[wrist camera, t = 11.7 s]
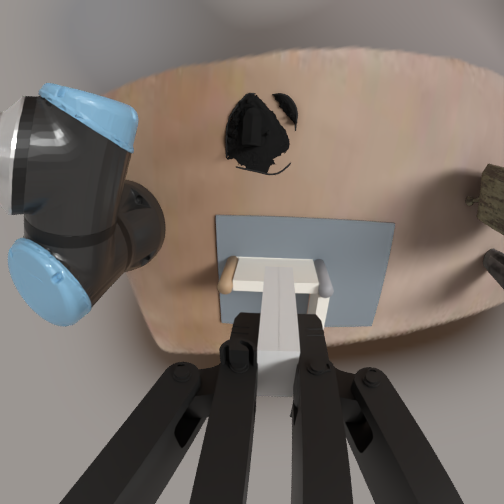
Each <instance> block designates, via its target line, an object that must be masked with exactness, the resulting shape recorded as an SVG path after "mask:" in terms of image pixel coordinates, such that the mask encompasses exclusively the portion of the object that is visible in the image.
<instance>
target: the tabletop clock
mask: <svg viewBox="0 0 504 504" xmlns="http://www.w3.org/2000/svg"><path fill="white" fill-rule="evenodd" d="M473 202H479V206H478V212H477V218H478V219H479V220H480V221H482V222H483V223H485V224H486V225H488V226H489V227H491V228H492V229H494V230H496V231H497V232H499V233H501V234H502V235H504V167H500V166H496V165H492V164H488V165H487V166H486V168H485V169H484V171H483V172H482V178H481V189H480V197H479V198H475V199H473V198H472V197H470V196H469V197H467V198H466V204H467V205H469V206H471V205H473Z"/></svg>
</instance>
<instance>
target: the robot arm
mask: <svg viewBox="0 0 504 504" xmlns="http://www.w3.org/2000/svg"><path fill="white" fill-rule="evenodd" d="M39 95H40V96H38V97H32V96H23V97H21V98H20V99H19V100H18V101H17V102H16V103H14V104H13V105H12V106H11V107H10V108H9V109H7V110H6V111H4V112H0V206H1V207H2V208H3V209H4V210H5V211H6V213H7V214H8V215H17V214H24V236H23V238H20V239H18V240H16V241H15V243H14V244H13V246H12V247H11V248H10V250H9V253H8V267H9V271H10V274H11V277H12V280H13V282H14V284H15V286H16V288H17V290H18V292H19V293H20V295H21V296H22V298H23V299H24V300H25V302H26V303H27V304H28V305H29V306H30V308H32V310H33V311H35V312H36V313H37V314H38V315H39V316H41V317H42V318H43V319H45V320H46V321H48V322H50V323H52V324H55V325H58V326H69V325H73V324H75V323H77V322H78V321H79V320H80V319H81V318H82V317H84V316H85V315H86V314H88V313H89V312H90V310H91V308H92V307H93V305H94V304H95V303H96V302H97V301H98V300H99V299H100V298H101V296H102V295H103V294H104V293H105V292H106V291H107V290H108V289H109V288H110V287H111V286H112V284H114V282H115V281H116V280H117V279H118V278H119V277H120V276H121V275H122V274H123V273H124V272H127V271H130V270H133V269H137V268H140V267H142V266H144V265H145V264H147V263H148V262H150V261H151V260H152V259H153V257H154V256H155V255H156V254H157V253H158V252H159V250H160V249H161V247H162V244H163V241H164V238H165V220H164V215H163V212H162V209H161V207H160V205H159V203H158V201H157V200H156V198H155V197H154V196H153V195H152V194H151V192H149V191H148V190H147V189H146V188H145V187H143V186H142V185H140V184H138V183H136V182H133V181H129V180H125V178H126V174H127V169H128V165H129V161H130V158H131V154H132V153H133V152H134V148H133V143H134V139H135V135H136V130H137V126H138V115H137V112H136V111H135V110H134V108H132V107H131V106H129V105H127V104H124V103H121V102H118V101H115V100H112V99H109V98H106V97H103V96H99V95H96V94H92V93H89V92H85V91H81V90H77V89H73V88H69V87H65V86H60V85H57V84H51V83H46V84H44V85H43V86H42V88H41V89H40V90H39ZM219 351H220V361H221V363H220V364H219V365H217V366H215V367H212V368H206V369H198V368H197V367H196V366H195V365H193V364H191V363H187V362H178V363H175V364H173V365H171V366H169V367H168V368H167V369H166V370H165V372H164V373H163V374H162V375H161V377H160V378H159V379H158V381H157V382H156V383H155V384H154V386H153V387H152V388H151V390H150V391H149V392H148V393H147V394H146V396H145V397H144V398H143V400H142V401H141V402H140V403H139V405H138V406H137V407H136V408H135V410H134V411H133V412H132V413H131V415H130V416H129V417H128V419H127V420H126V421H125V422H124V424H123V425H122V426H121V427H120V428H119V430H118V431H117V432H116V433H115V435H114V436H113V437H112V438H111V440H110V441H109V442H108V444H107V445H106V446H105V447H104V449H103V450H102V451H101V452H100V454H99V455H98V456H97V457H96V459H95V460H94V461H93V462H92V464H91V465H90V466H89V467H88V469H87V470H86V471H85V472H84V474H83V475H82V476H81V477H80V478H79V480H78V481H77V482H76V484H75V485H74V486H73V487H72V488H71V490H70V491H69V492H68V494H67V495H66V496H65V497H64V498H63V500H62V501H61V502H60V503H59V504H155V503H156V501H157V499H158V498H159V496H160V495H161V493H162V492H163V490H164V488H165V487H166V485H167V484H168V482H169V480H170V479H171V477H172V476H173V474H174V472H175V471H176V469H177V467H178V466H179V464H180V462H181V461H182V459H183V457H184V455H185V454H186V452H187V450H188V449H189V447H190V446H191V444H192V442H193V441H194V439H195V437H196V435H197V434H198V432H199V430H200V429H201V427H202V425H203V423H204V422H205V420H206V418H207V417H209V419H208V424H207V427H206V432H205V436H204V441H203V445H202V450H201V454H200V459H199V463H198V467H197V472H196V476H195V481H194V485H193V490H192V494H191V499H190V504H246V500H247V491H248V482H249V472H250V462H251V452H252V443H253V433H254V422H255V412H256V396H275V397H276V396H277V397H292V396H293V405H292V410H291V415H290V417H292V487H291V488H292V490H291V504H353V497H352V487H351V476H350V468H349V459H348V452H347V451H348V450H347V443H346V438H347V440H348V443H349V445H350V447H351V449H352V451H353V454H354V456H355V458H356V461H357V463H358V465H359V468H360V470H361V472H362V474H363V477H364V479H365V481H366V484H367V486H368V488H369V490H370V492H371V495H372V497H373V500H374V502H375V504H464V503H463V501H462V499H461V498H460V496H459V494H458V492H457V490H456V489H455V487H454V485H453V483H452V481H451V479H450V478H449V476H448V474H447V472H446V471H445V469H444V467H443V466H442V464H441V462H440V460H439V459H438V457H437V455H436V454H435V452H434V450H433V449H432V447H431V445H430V444H429V442H428V440H427V439H426V437H425V436H424V434H423V432H422V431H421V429H420V427H419V426H418V424H417V423H416V421H415V419H414V418H413V416H412V415H411V413H410V412H409V410H408V408H407V407H406V405H405V404H404V402H403V401H402V399H401V398H400V396H399V394H398V393H397V391H396V390H395V388H394V387H393V385H392V384H391V382H390V381H389V379H388V378H387V376H386V375H385V374H384V373H383V372H382V371H380V370H379V369H376V368H371V367H367V368H363V369H360V370H359V371H358V372H357V373H356V374H352V373H347V372H344V371H340V370H338V369H337V368H335V367H334V366H333V364H332V363H331V362H330V361H329V358H328V352H327V347H326V342H325V336H324V331H323V326H322V321H321V320H320V319H319V317H318V316H317V315H316V314H297V308H296V297H295V287H294V277H293V268H292V267H270V266H265V273H264V284H263V295H262V306H261V313H247V312H240V313H239V314H238V315H237V316H236V317H235V318H234V323H233V327H232V332H231V336H230V340H227V341H226V342H224V343H223V344H222V345H221V347H220V349H219Z"/></svg>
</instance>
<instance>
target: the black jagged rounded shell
mask: <svg viewBox="0 0 504 504" xmlns="http://www.w3.org/2000/svg"><path fill="white" fill-rule="evenodd" d="M272 95H274V97H275V100H277V101H278V102H279V104H280V106H279V107H281V108H282V109H283V111H284V112H285V113H286V115H287V116H288V117H289V118H290V119H291V120H292V121H293V122H294V123H295V131H296V124H297V118H298V112H297V107H296V105H295V103H294V101H293V100H292V99H291V98H290V97H289V96H288V95H285V94H282V93H277V94H272ZM231 118H232V119H231ZM230 119H231V120H230ZM289 144H290V143H289V139H288V135H287V133H286V130H285V129H284V128H283V127H282V126H281V125H280V124H279V121H278V120H277V119H276V115H275V114H274V113H273V111H270V110H269V108H267V106H266V104H265V103H263V102H262V100H261V99H259V97H258V96H257V95H256V96H255V93H248V94H246V95H245V96H244V97H243V98H242V99H241V100H240V101H239V102H238V104H237V105H236V107H235V108H234V110H233V111H232V113H231V115H230V117H229V119H228V123H227V126H226V158H227V156H229V157H228V158H227V159H228V160H229V159H233V158H234V159H236V160H237V162H238V163H240V164H241V166H242V165H244V164H245V165H244V166H246V168H242V167H236V168H240V169H244V170H249V171H254V172H258V173H262V174H266V175H276V174H279V173H281V172H283V171H284V170H285V169H286V168H288V167H289V165H290V164H291V162H290V163H289V165H288V166H287V167H285V168H284V169H283V170H281V171H280V172H278V173H273V174H268V173H267V172H268V170H269V166H270V165H272V164H273V165H274V164H275V163H274V160H273V159H274V158H275V157H277V156H281V153H286V152H285V151H287V150H288V149H289ZM238 165H239V164H238Z"/></svg>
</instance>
